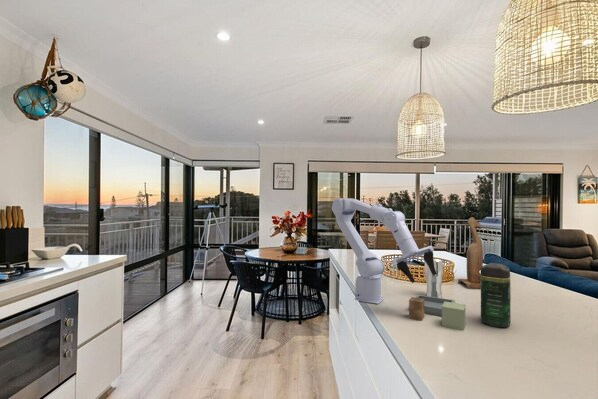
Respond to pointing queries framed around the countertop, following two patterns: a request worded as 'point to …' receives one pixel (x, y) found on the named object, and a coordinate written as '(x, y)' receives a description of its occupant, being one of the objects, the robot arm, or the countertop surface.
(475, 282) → the bird sculpture
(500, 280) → the coffee jar
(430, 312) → the grey tray
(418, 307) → the walnut block
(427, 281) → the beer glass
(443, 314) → the olive block
